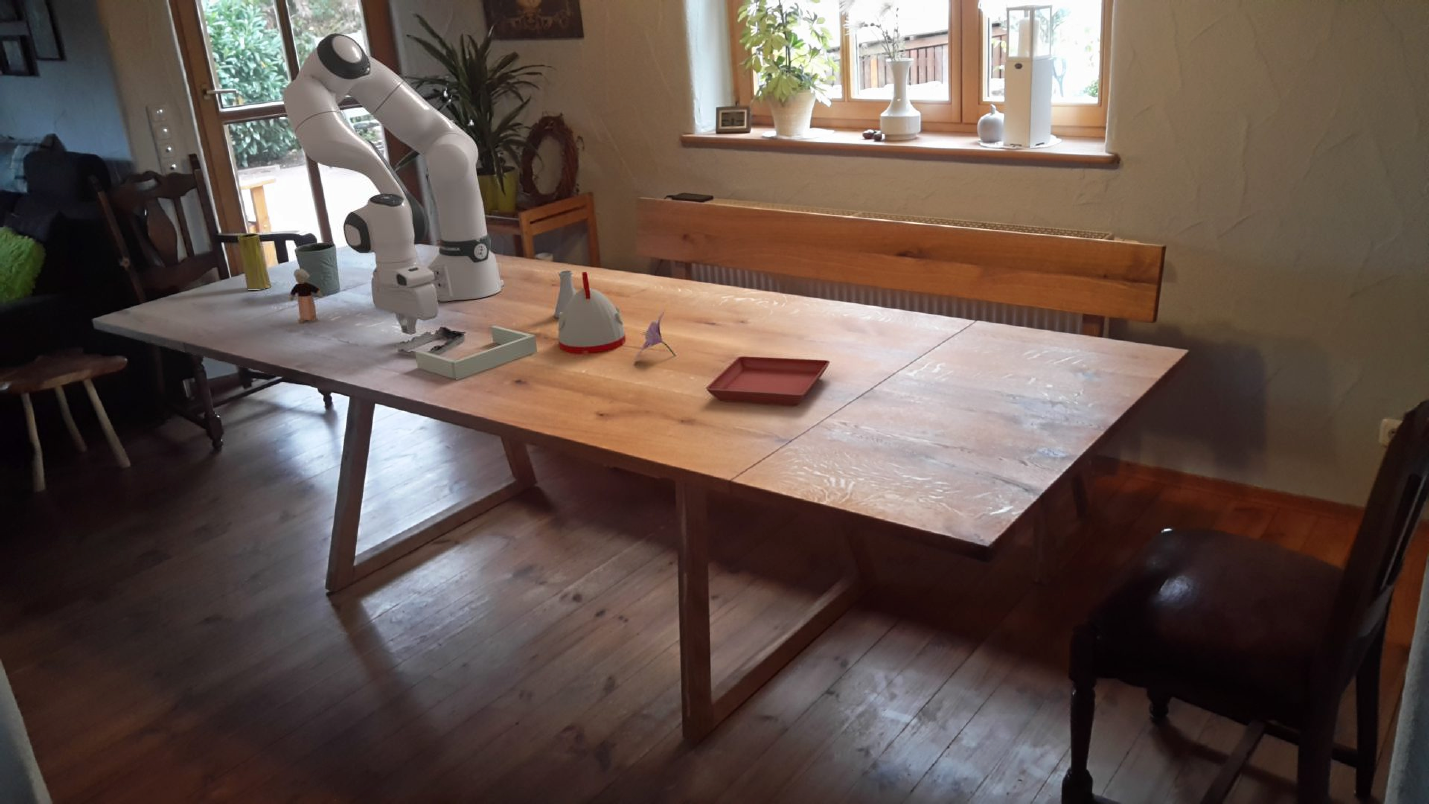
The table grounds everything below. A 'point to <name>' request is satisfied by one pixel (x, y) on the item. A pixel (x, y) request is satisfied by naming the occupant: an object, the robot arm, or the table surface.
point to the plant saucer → (767, 380)
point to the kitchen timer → (590, 323)
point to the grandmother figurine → (305, 296)
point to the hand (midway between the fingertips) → (409, 333)
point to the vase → (253, 261)
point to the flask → (564, 291)
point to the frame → (481, 355)
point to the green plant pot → (320, 266)
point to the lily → (653, 336)
